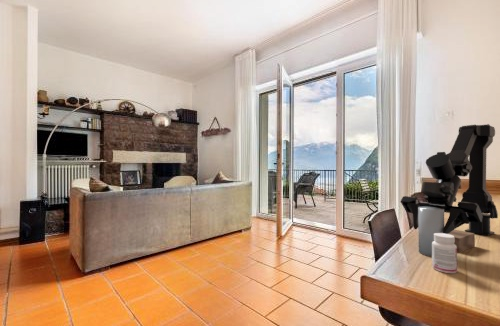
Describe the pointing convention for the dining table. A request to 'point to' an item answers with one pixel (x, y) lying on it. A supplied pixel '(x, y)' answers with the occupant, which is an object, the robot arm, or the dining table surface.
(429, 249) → the grey cylinder
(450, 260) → the pill bottle
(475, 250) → the dining table surface
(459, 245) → the walnut box
